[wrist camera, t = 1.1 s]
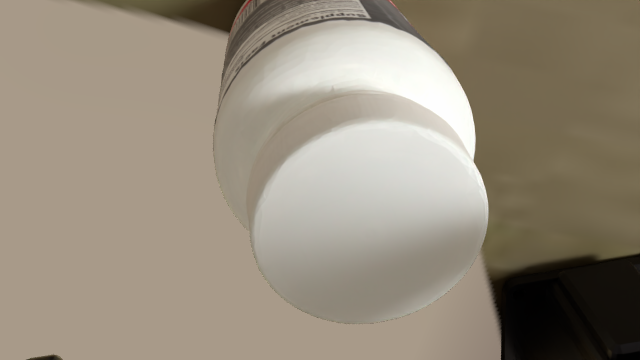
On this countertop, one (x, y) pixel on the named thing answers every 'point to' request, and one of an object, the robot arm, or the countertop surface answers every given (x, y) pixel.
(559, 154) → the countertop surface
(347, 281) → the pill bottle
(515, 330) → the robot arm
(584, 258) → the countertop surface
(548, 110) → the countertop surface
